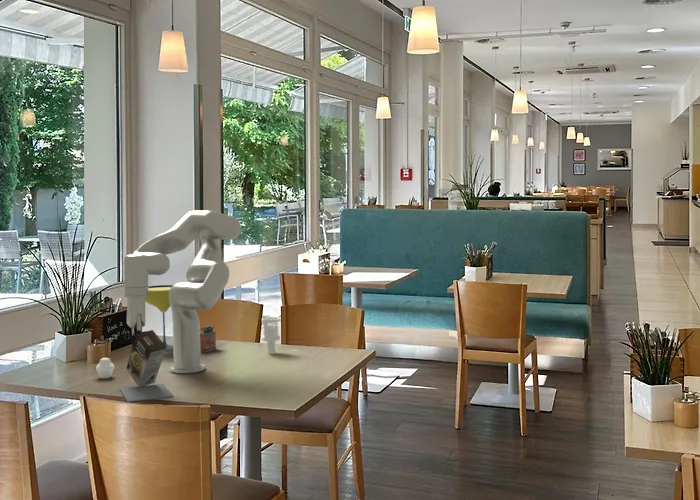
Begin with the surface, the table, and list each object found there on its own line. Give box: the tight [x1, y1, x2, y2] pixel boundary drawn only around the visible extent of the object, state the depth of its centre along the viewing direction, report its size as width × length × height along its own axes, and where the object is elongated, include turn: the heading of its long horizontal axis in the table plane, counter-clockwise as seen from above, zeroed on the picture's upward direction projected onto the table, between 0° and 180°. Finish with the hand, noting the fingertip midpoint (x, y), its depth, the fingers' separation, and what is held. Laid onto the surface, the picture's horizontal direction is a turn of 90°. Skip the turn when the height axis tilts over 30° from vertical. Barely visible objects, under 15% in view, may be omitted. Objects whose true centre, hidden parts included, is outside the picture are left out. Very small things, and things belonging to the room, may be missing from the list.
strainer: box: [261, 314, 281, 355], centre depth 301 cm, size 7×7×15 cm
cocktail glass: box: [145, 284, 174, 352], centre depth 312 cm, size 18×18×25 cm
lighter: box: [200, 325, 217, 353], centre depth 308 cm, size 8×3×10 cm, turn 144°
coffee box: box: [125, 329, 166, 387], centre depth 250 cm, size 9×6×16 cm
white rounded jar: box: [95, 357, 116, 379], centre depth 265 cm, size 6×6×7 cm
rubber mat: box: [119, 383, 174, 403], centre depth 243 cm, size 16×14×1 cm
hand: (137, 347), depth 252 cm, fingers closed
